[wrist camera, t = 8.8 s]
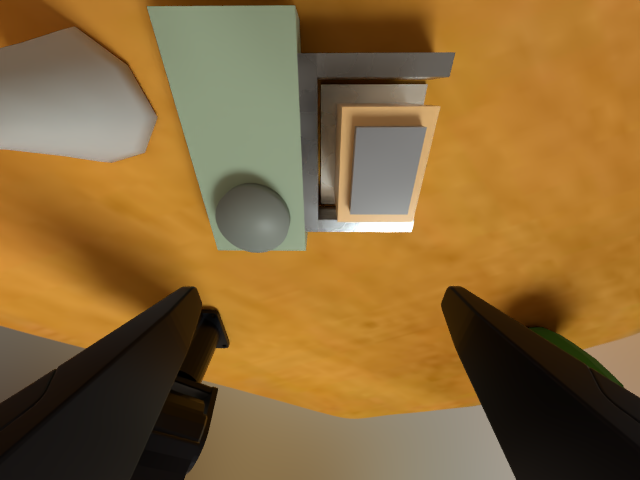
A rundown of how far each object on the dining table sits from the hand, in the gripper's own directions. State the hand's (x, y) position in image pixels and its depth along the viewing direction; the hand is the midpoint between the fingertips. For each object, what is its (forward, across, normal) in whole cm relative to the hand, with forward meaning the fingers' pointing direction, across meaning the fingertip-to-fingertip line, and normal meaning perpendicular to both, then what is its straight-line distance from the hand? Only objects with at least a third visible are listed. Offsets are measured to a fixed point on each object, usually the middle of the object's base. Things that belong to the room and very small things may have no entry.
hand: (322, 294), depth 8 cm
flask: (+12, +15, -6) cm, 20 cm away
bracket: (+11, -3, -3) cm, 12 cm away
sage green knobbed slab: (+12, +5, -3) cm, 13 cm away
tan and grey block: (+11, -3, -3) cm, 12 cm away
